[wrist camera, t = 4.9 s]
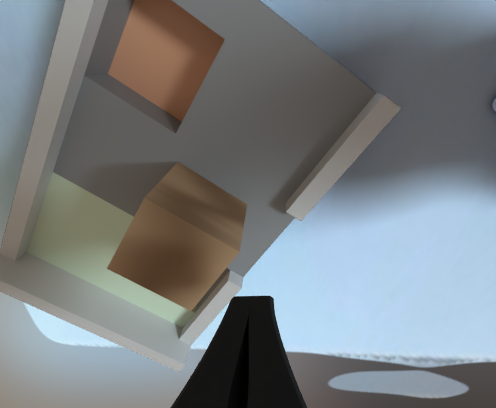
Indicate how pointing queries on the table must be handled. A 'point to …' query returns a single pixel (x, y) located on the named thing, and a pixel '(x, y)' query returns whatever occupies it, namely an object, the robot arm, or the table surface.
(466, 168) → the table surface
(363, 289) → the table surface
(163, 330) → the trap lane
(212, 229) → the walnut block
